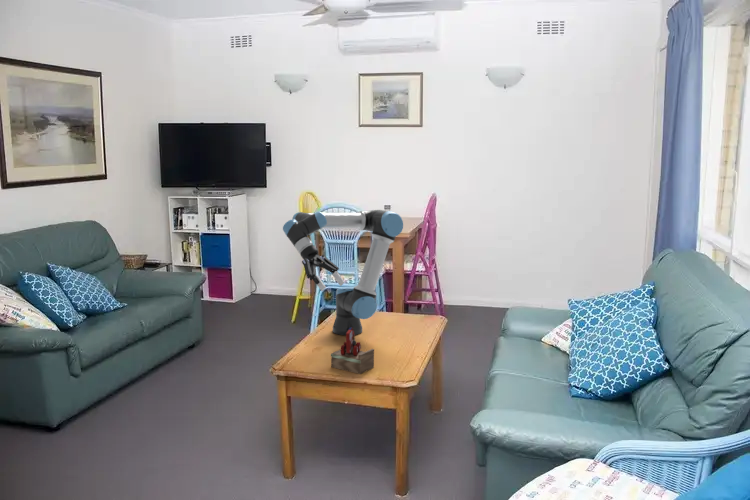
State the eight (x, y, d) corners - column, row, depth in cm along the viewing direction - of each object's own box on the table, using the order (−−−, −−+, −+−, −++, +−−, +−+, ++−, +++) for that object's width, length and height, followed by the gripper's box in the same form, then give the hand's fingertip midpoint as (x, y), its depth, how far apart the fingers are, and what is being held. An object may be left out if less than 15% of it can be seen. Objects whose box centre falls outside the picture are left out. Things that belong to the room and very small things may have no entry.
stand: (330, 367, 263) (330, 348, 261) (345, 360, 271) (345, 343, 270) (359, 374, 254) (360, 355, 253) (374, 367, 263) (374, 349, 262)
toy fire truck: (361, 349, 268) (361, 325, 266) (355, 358, 256) (356, 333, 254) (345, 348, 269) (346, 324, 268) (339, 357, 257) (339, 332, 256)
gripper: (319, 251, 291) (345, 287, 285) (283, 258, 270) (310, 296, 264) (328, 241, 287) (354, 276, 281) (292, 247, 266) (320, 285, 260)
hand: (333, 286), depth 272 cm, fingers open, 13 cm apart
